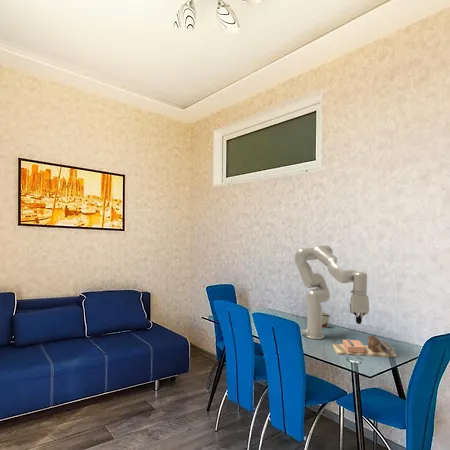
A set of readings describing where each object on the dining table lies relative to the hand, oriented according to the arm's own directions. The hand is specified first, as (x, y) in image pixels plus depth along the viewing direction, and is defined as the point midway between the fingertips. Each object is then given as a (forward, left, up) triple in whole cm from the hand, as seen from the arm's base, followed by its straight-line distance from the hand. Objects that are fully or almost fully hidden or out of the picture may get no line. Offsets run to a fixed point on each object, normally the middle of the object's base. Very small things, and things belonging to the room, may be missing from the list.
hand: (358, 323), depth 205 cm
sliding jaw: (-3, 0, -15) cm, 15 cm away
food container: (-14, +48, -17) cm, 52 cm away
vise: (+3, 0, -17) cm, 17 cm away
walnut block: (+9, 0, -15) cm, 18 cm away
